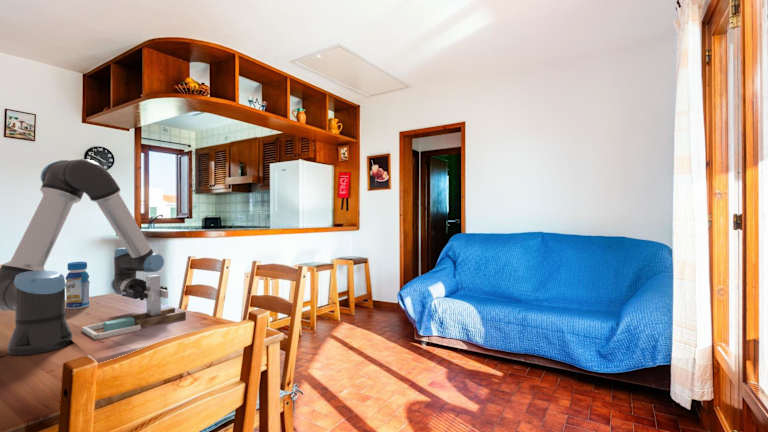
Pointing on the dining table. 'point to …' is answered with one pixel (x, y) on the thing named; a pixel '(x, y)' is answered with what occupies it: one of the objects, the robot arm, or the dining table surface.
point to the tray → (94, 335)
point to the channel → (158, 318)
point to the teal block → (126, 322)
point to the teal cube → (112, 325)
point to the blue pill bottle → (77, 286)
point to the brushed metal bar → (154, 287)
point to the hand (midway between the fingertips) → (160, 295)
